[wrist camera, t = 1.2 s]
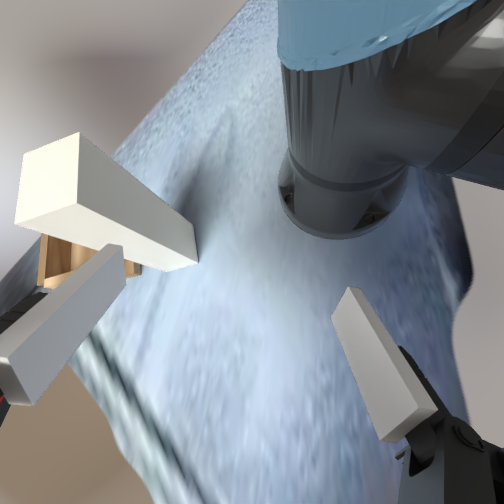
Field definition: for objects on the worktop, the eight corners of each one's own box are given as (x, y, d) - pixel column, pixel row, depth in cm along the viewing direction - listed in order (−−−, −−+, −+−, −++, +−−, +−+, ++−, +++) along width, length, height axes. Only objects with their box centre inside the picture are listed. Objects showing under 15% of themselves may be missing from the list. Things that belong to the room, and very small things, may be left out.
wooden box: (137, 209, 36) (112, 193, 31) (141, 274, 33) (114, 268, 28) (65, 232, 38) (31, 221, 33) (61, 296, 35) (23, 293, 30)
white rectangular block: (193, 225, 33) (79, 131, 16) (198, 263, 31) (76, 202, 14) (162, 234, 34) (23, 153, 17) (166, 272, 32) (14, 224, 15)
